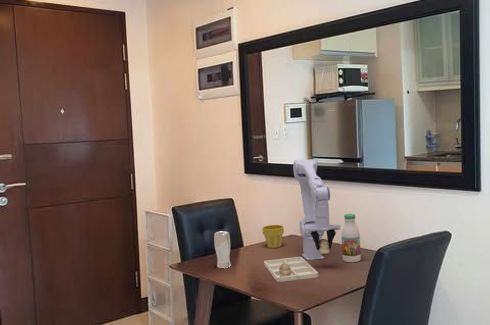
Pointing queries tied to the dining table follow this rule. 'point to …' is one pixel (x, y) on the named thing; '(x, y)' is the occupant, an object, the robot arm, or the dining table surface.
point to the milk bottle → (350, 240)
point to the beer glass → (222, 248)
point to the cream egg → (323, 246)
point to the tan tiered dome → (285, 270)
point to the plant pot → (273, 235)
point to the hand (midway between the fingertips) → (323, 248)
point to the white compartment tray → (297, 266)
